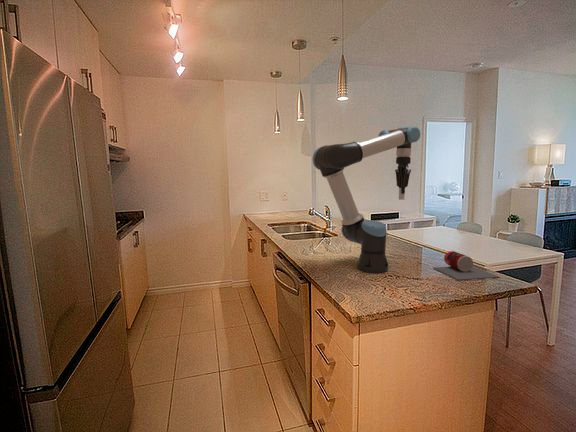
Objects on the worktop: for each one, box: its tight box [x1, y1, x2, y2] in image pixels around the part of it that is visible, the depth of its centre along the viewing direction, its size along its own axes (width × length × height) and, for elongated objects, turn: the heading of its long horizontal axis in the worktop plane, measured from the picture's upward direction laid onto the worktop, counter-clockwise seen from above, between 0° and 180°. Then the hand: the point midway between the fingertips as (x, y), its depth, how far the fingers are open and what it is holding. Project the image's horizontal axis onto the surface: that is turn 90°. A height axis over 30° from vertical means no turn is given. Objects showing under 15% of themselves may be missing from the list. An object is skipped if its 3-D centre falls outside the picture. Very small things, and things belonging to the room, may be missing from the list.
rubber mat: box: [432, 265, 500, 282], centre depth 152 cm, size 21×18×1 cm
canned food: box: [444, 250, 474, 272], centre depth 157 cm, size 8×8×11 cm
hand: (401, 199), depth 179 cm, fingers closed
